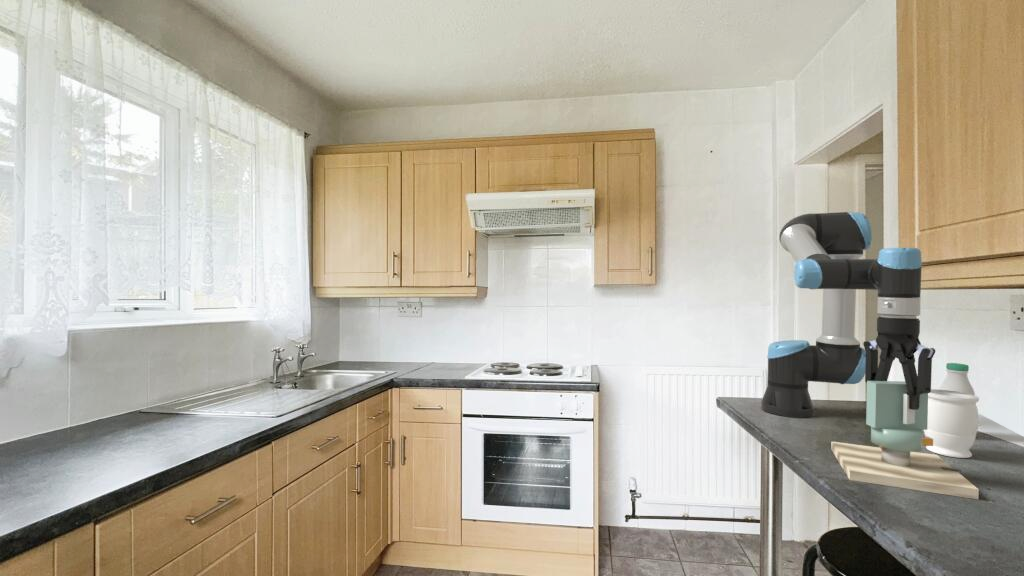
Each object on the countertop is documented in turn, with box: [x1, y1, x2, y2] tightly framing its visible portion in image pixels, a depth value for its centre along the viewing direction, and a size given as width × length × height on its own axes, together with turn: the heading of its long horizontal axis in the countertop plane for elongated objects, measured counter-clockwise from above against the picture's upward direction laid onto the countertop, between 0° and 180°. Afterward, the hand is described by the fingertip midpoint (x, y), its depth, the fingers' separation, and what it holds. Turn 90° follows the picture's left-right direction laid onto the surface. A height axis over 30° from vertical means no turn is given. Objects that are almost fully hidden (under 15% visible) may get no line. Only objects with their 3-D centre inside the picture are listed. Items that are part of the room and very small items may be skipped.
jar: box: [923, 388, 980, 459], centre depth 120 cm, size 11×10×15 cm
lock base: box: [830, 441, 980, 500], centre depth 108 cm, size 22×22×6 cm
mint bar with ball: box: [865, 380, 933, 452], centre depth 108 cm, size 9×13×14 cm
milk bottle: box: [938, 362, 976, 396], centre depth 135 cm, size 8×8×20 cm
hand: (895, 419), depth 108 cm, fingers closed on mint bar with ball, 5 cm apart
